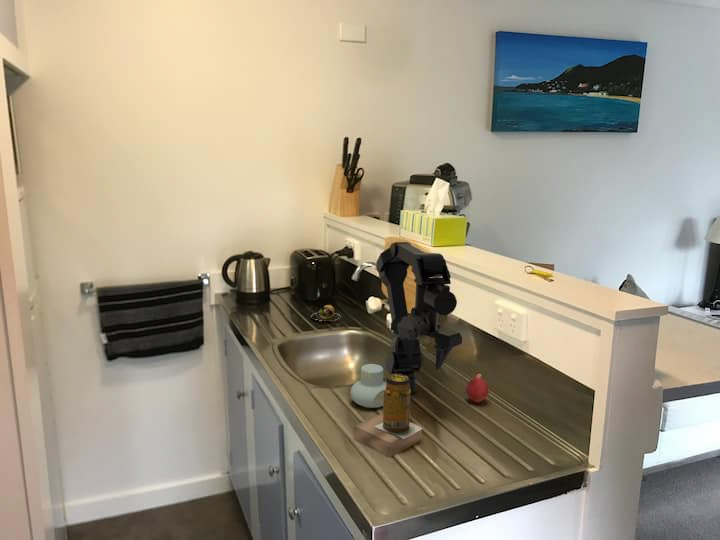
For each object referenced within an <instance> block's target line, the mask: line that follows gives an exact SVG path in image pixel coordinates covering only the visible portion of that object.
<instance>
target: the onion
mask: <svg viewBox="0 0 720 540" xmlns="http://www.w3.org/2000/svg"><path fill="white" fill-rule="evenodd" d="M489 389H490V388H489V386H488V382H487V381H485V379H483V378H482V374H481V373H479V374H477V375H476V376H474V377H473V378H471V379H470V380H469V381H468V382H467V385H466V389H465V390H466V392H465V393H466V395H467V397H469V399H470V400H471V401H473V402H474V403H477V404H478V403H480V402H481V401H484V400H485V399H486V398H487V397H488V396H489V392H490V391H489Z"/></svg>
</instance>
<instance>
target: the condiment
mask: <svg viewBox="0 0 720 540" xmlns="http://www.w3.org/2000/svg"><path fill="white" fill-rule="evenodd" d="M385 380H386V381H385V383H386V387H385V389H384V405H383V406H382V407H383V409H382V410H383V412H382V413H383V423H381V424H378V425H376V426H374V427H376V428H378V429H380V430H383V431H386V432H388V433H391V434H393V435H395V436H398V437H401V438H403V439H404V438H407V437H409V436H411V435H413V434H414V433H416V432H418V431H420V430H421V429H422V430H423V427H422V426H421V427H422V428H421V427H419V426H420V425H419V426H417V425H418V424H417V425H414V424H415V423H414V424H411V423H409V421H410V418H411V417H410V415H411V396H412V395H411V390H410V388H409V387H410V385H409V382H410V379H409V378H408V377H407V376H406V375H402V374H391V375H390V374H388V375H387V376H386V379H385Z"/></svg>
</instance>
